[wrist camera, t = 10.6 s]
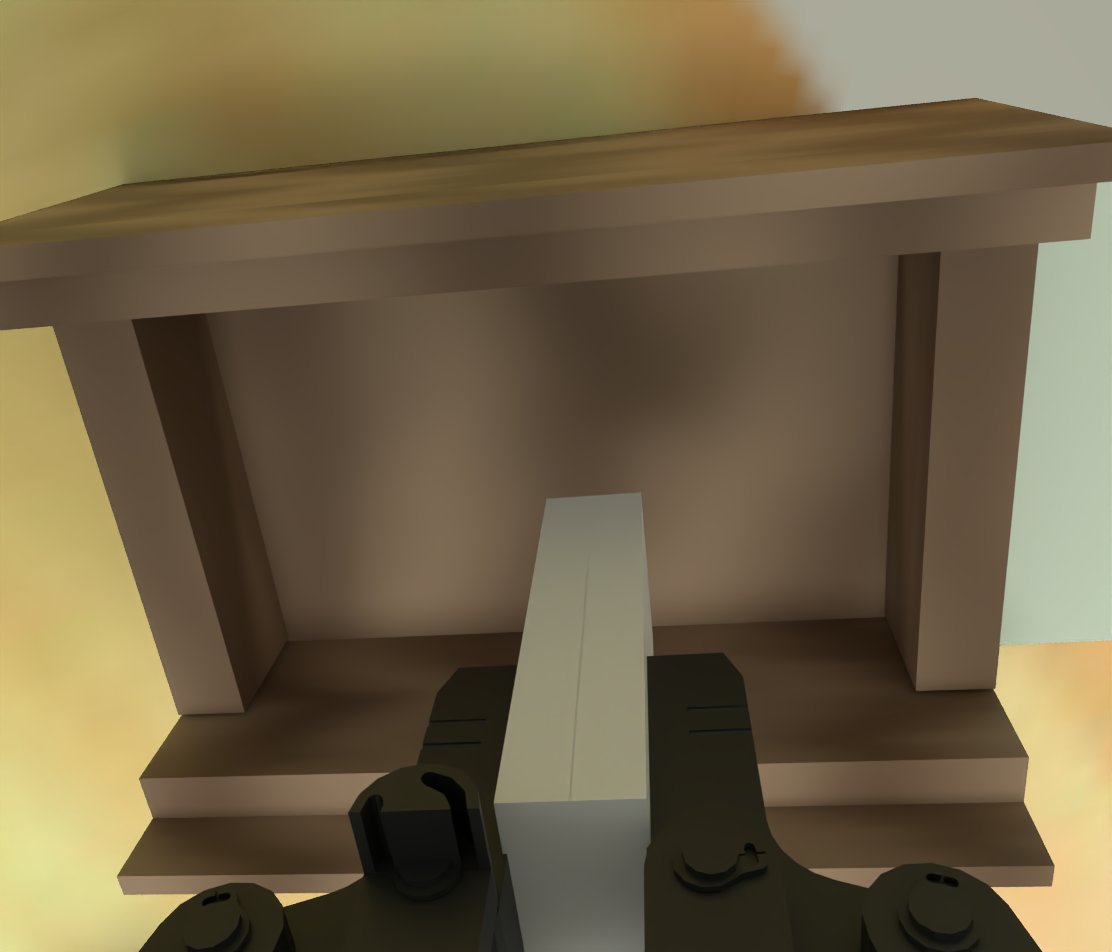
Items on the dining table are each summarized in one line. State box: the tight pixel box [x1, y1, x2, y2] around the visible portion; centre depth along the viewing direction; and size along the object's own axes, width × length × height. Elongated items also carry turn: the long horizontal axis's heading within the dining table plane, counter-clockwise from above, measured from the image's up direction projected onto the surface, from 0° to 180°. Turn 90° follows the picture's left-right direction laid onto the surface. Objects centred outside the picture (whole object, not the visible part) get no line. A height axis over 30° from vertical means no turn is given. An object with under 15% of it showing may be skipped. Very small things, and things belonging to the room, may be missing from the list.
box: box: [0, 98, 1112, 895], centre depth 20 cm, size 18×13×8 cm
